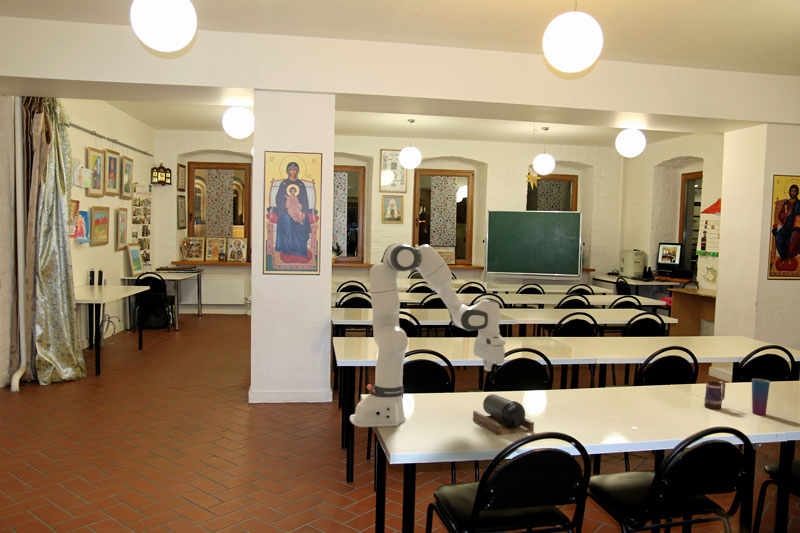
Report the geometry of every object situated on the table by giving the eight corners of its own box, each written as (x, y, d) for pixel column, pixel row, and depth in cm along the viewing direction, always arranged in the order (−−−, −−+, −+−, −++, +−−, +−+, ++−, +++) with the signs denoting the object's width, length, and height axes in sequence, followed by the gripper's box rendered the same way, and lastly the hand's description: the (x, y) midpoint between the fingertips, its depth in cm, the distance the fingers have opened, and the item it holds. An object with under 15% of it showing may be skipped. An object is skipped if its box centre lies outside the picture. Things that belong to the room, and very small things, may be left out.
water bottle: (488, 421, 240) (512, 435, 218) (477, 400, 239) (500, 412, 217) (507, 408, 243) (533, 421, 220) (496, 387, 242) (521, 398, 219)
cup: (766, 412, 256) (768, 379, 256) (769, 416, 250) (771, 383, 250) (749, 410, 259) (750, 378, 259) (751, 414, 253) (752, 381, 252)
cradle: (497, 435, 216) (497, 426, 216) (472, 419, 235) (473, 411, 235) (533, 431, 222) (533, 422, 222) (507, 416, 241) (507, 408, 241)
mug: (713, 410, 258) (714, 384, 258) (700, 406, 265) (701, 380, 264) (730, 408, 262) (731, 382, 261) (717, 404, 268) (718, 379, 268)
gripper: (470, 334, 249) (469, 365, 249) (493, 342, 229) (492, 376, 230) (483, 333, 251) (482, 364, 251) (507, 341, 232) (506, 375, 232)
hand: (487, 370), depth 240 cm, fingers closed
